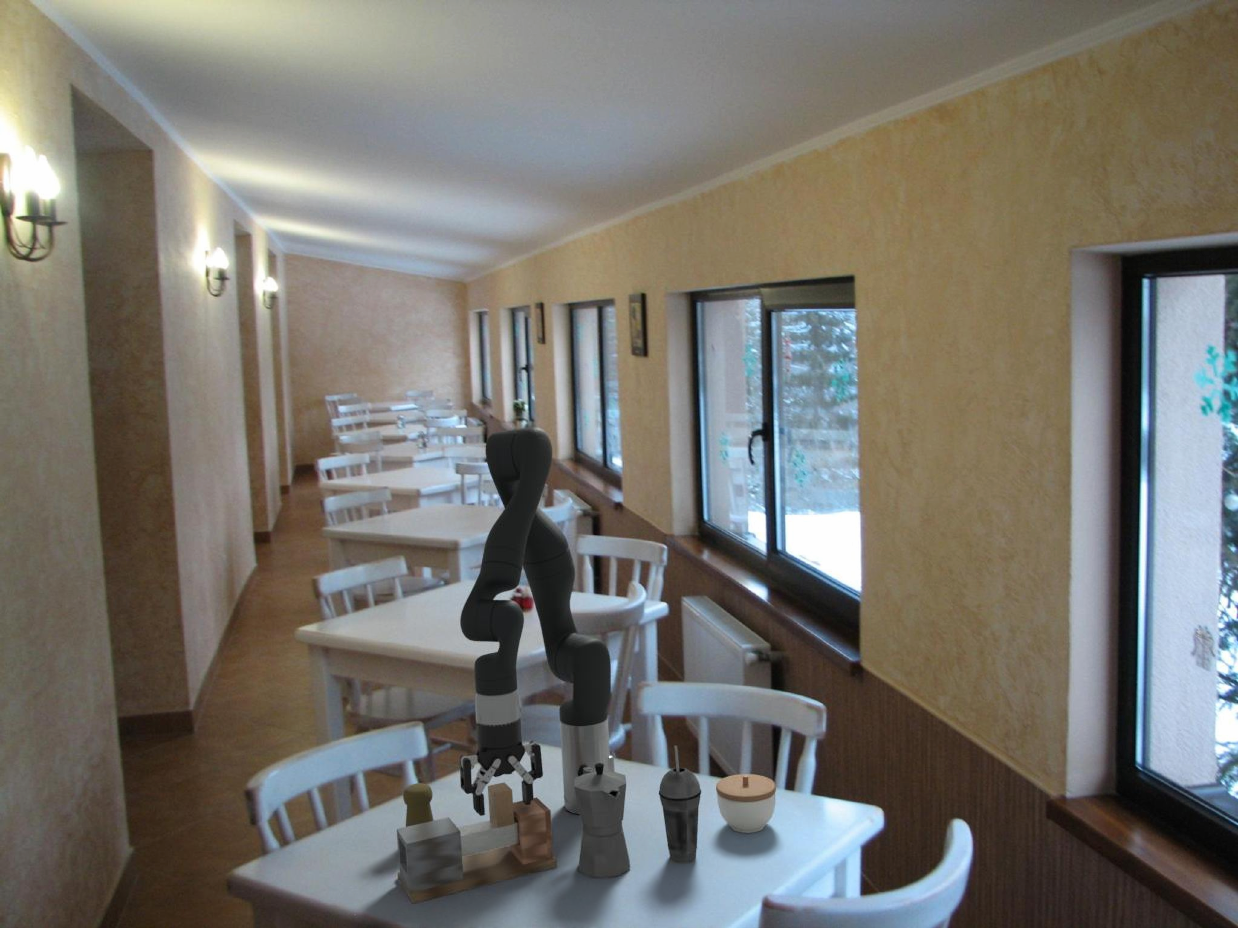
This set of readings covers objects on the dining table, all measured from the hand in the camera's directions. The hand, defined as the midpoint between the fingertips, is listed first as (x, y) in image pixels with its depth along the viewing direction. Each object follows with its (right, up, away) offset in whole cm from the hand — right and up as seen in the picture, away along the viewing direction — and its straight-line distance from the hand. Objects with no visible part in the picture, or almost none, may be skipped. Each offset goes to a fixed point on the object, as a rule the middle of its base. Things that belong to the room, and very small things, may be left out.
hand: (503, 808), depth 189 cm
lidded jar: (+43, -7, +12) cm, 45 cm away
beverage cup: (+31, -9, +1) cm, 32 cm away
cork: (-16, -10, +11) cm, 22 cm away
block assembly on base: (-5, -10, -1) cm, 12 cm away
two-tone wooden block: (-2, -6, -1) cm, 6 cm away
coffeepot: (+17, -10, 0) cm, 19 cm away
